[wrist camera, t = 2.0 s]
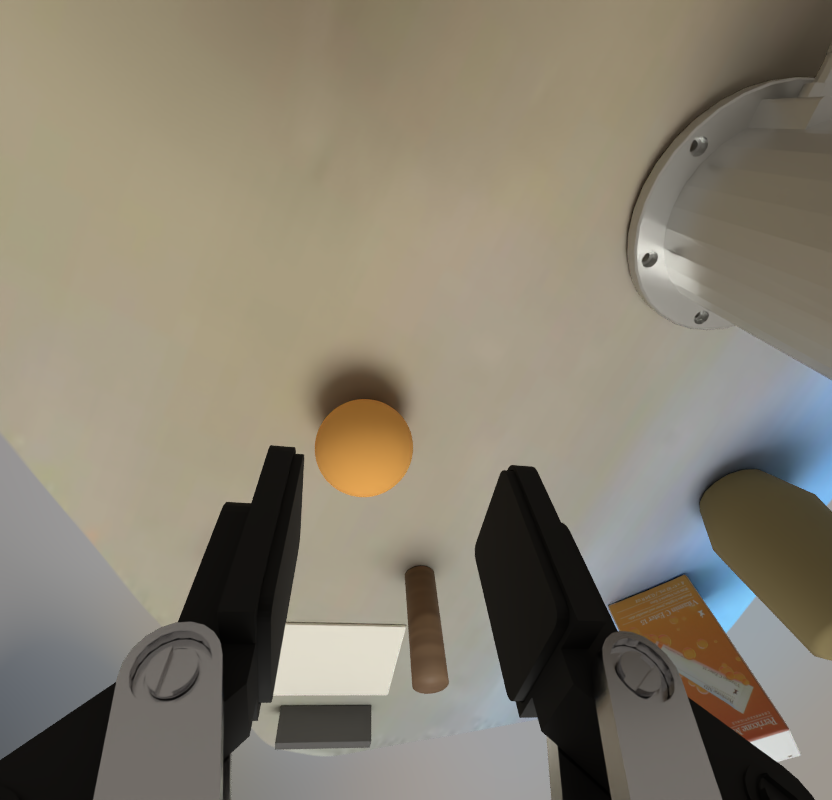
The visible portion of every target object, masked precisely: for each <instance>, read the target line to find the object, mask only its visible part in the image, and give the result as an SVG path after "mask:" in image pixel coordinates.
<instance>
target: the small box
mask: <svg viewBox="0 0 832 800" xmlns="http://www.w3.org/2000/svg"><path fill="white" fill-rule="evenodd" d="M608 608H609V610H610V612H611V614H612V617H613V619H614V621H615V623H616V625H617V627H618V629H619V631H628V632H633V633H636V634H639V635H641V636H644V637H645V638H647V639H648V640H650V641H652V642H653V643H655V644H656V645H657V646H658V647H659V648H660V649H661V650H663V651H664V652H665V653H666V654H667V655H668V657H669V658H670V660H671V661H672V662H673V664H674V665H675V666H676V668H677V670H678V672H679V675H680V677H681V679H682V682H683V685H684V688H685V690H686V693H687V696H688V697H689V698H690V699H692V700H693V701H694V702H696V703H697V704H698V705H700V706H701V707H703V708H704V709H705V710H707V711H708V712H709V713H711V714H712V715H713V716H715V717H716V718H718V719H719V720H720V721H722V722H723V723H724V724H726V725H727V726H728V727H730V728H731V729H733V730H734V731H735V732H737V733H738V734H739V735H741V736H742V737H743V738H745V739H746V740H748V741H749V742H750V743H752V744H753V745H754V746H756V747H757V748H758V749H760V750H761V751H762V752H764V753H765V754H767V755H768V756H769V757H771V758H772V759H773V760H775V761H776V762H779V761H782V760H786V759H789V758H793V757H797V756H800V755H801V753H800V751H799V749H798V747H797V745H796V743H795V741H794V739H793V737H792V734H791V732H790V730H789V728H788V727H787V724H786V723H785V722H784V720H783V718H782V717H781V715H780V714H779V712H778V711H777V709H776V708H775V706H774V705H773V703H772V702H771V700H770V699H769V697H768V696H767V694H766V693H765V691H764V690H763V688H762V687H761V685H760V684H759V682H758V681H757V679H756V678H755V676H754V675H753V673H752V672H751V670H750V669H749V667H748V666H747V664H746V663H745V661H744V660H743V658H742V657H741V655H740V654H739V652H738V651H737V650H736V648H735V647H734V645H733V644H732V642H731V640H730V639H729V637H728V636H727V634H726V633H725V631H724V630H723V628H722V627H721V625H720V624H719V622H718V621H717V619H716V618H715V616H714V615H713V613H712V612H711V611H710V609H709V608H708V606H707V605H706V603H705V602H704V600H703V599H702V597H701V596H700V595H699V593H698V592H697V590H696V589H695V587H694V586H693V584H692V583H691V581H690V580H689V578H688V577H687V576H686V575H682V576H680V577H678V578H676V579H674V580H671V581H669V582H667V583H664V584H662V585H659V586H657V587H654V588H652V589H650V590H647V591H645V592H642V593H640V594H637V595H635V596H632V597H630V598H627V599H625V600H622V601H620V602H617V603H613V604H611V605H609V606H608Z"/></svg>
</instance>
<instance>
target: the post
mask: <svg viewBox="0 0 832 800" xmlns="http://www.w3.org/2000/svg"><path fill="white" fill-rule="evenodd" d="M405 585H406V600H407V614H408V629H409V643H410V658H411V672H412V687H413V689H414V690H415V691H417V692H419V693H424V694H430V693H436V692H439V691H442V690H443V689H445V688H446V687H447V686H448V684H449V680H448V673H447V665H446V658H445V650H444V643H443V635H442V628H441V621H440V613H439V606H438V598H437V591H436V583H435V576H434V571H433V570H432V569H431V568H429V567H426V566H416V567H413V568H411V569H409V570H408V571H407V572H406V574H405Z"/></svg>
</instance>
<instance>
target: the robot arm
mask: <svg viewBox="0 0 832 800" xmlns="http://www.w3.org/2000/svg"><path fill="white" fill-rule="evenodd" d="M826 55H827V56H826V58H825V60H824V62H823V64H822V66H821V68H820V70H819V72H818V74H817V76H816V77H815V78H804V77H794V78H785V79H777V80H770V81H766V82H763V83H760V84H756V85H753V86H750V87H746V88H744V89H742V90H740V91H738V92H736V93H734V94H732V95H730V96H728V97H726V98H724V99H723V100H721V101H719V102H718V103H716V104H715V105H714V106H712V107H711V108H709V109H708V110H707V111H705V112H704V113H703V114H701V115H700V116H698V117H697V118H696V119H695V120H694V121H693V122H692V123H691V124H690V125H689V126H688V127H687V128H686V129H685V130H684V131H683V132H681V133H680V134H679V135H678V136H677V137H676V138H675V139H674V141H673V142H672V143H671V145H670V146H669V147H668V148H667V150H666V151H665V152H664V154H663V155H662V156H661V158H660V159H659V160H658V161H657V163H656V165H655V166H654V168H653V170H652V172H651V173H650V175H649V177H648V179H647V180H646V182H645V184H644V186H643V188H642V190H641V193H640V195H639V198H638V200H637V203H636V205H635V208H634V210H633V215H632V219H631V224H630V228H629V233H628V250H627V257H628V263H629V270H630V275H631V278H632V280H633V283H634V285H635V288H636V290H637V292H638V293H639V295H640V296H641V297H642V299H643V300H644V302H645V303H646V304H647V305H648V306H649V307H650V308H652V309H653V310H654V311H655V312H657V313H658V314H659V315H661V316H662V317H664V318H666V319H667V320H669V321H671V322H672V323H674V324H677V325H680V326H684V327H687V328H690V329H702V330H713V329H723V328H729V327H733V326H737V327H739V328H741V329H742V330H744V331H746V332H748V333H749V334H751V335H753V336H755V337H756V338H758V339H760V340H762V341H764V342H765V343H767V344H769V345H771V346H772V347H774V348H776V349H778V350H779V351H781V352H783V353H785V354H786V355H788V356H790V357H792V358H793V359H795V360H797V361H799V362H800V363H802V364H804V365H806V366H807V367H809V368H811V369H813V370H814V371H816V372H818V373H820V374H821V375H823V376H825V377H827V378H828V379H830V380H832V43H831V45H830V47H829V49H828V51H827V53H826ZM691 144H692V147H691ZM690 147H691V148H690ZM644 255H645V256H644ZM643 257H644V258H643ZM642 258H643V259H642ZM303 470H304V454H296V450H295V447H284V446H272V445H271V446H270V447H269V449H268V453H267V456H266V459H265V462H264V465H263V468H262V471H261V475H260V478H259V481H258V484H257V487H256V490H255V494H254V497H253V500H252V503H235V502H226V503H225V504H224V506H223V508H222V510H221V512H220V515H219V518H218V520H217V523H216V525H215V528H214V530H213V533H212V536H211V538H210V541H209V543H208V546H207V549H206V551H205V554H204V556H203V559H202V561H201V564H200V567H199V569H198V572H197V574H196V577H195V579H194V582H193V585H192V587H191V590H190V592H189V595H188V597H187V600H186V603H185V605H184V608H183V610H182V613H181V615H180V618H179V621H178V622H176V623H173V624H170V625H167V626H164V627H161V628H159V629H157V630H155V631H154V632H152V633H150V634H149V635H147V636H145V637H144V638H143V639H142V640H141V641H140V642H139V643H138V644H137V645H135V646H134V647H133V648H132V650H131V651H130V653H129V654H128V655H127V657H126V658H125V660H124V661H123V663H122V666H121V668H120V671H119V674H118V677H117V681H116V682H115V683H114V684H113V685H111V686H109V687H108V688H106V689H105V690H104V691H102V692H101V693H99V694H98V695H96V696H95V697H93V698H92V699H90V700H89V701H87V702H86V703H84V704H83V705H81V706H80V707H78V708H77V709H75V710H74V711H73V712H71V713H69V714H68V715H66V716H65V717H64V718H62V719H61V720H59V721H58V722H56V723H55V724H53V725H52V726H50V727H49V728H47V729H46V730H44V731H43V732H41V733H40V734H38V735H37V736H35V737H34V738H32V739H31V740H29V741H28V742H26V743H25V744H23V745H22V746H20V747H19V748H18V749H16V750H15V751H13V752H12V753H10V754H9V755H7V756H6V757H4V758H3V759H1V760H0V800H231V753H232V752H233V751H234V750H235V749H236V748H237V747H238V746H239V745H240V744H241V743H242V742H243V741H245V740H246V739H247V738H248V737H249V736H250V731H251V726H252V721H258V716H259V711H260V706H261V703H271V702H272V698H273V693H274V688H275V682H276V676H277V670H278V665H279V659H280V653H281V647H282V641H283V636H284V630H285V624H286V618H287V613H288V607H289V601H290V595H291V590H292V584H293V578H294V572H295V567H296V561H297V555H298V549H299V542H300V528H301V509H302V489H303ZM475 559H476V563H477V568H478V572H479V576H480V580H481V585H482V589H483V593H484V598H485V602H486V606H487V611H488V615H489V619H490V623H491V628H492V632H493V636H494V641H495V645H496V649H497V654H498V658H499V662H500V666H501V671H502V675H503V679H504V684H505V688H506V692H507V695H508V697H509V699H510V700H511V701H516V705H517V709H518V713H519V717H520V718H521V717H538V720H539V724H540V728H541V731H542V732H543V733H544V734H545V735H546V736H547V748H548V761H549V774H550V788H551V800H815V799H814V798H813V796H812V795H811V794H810V793H809V791H808V790H807V789H806V788H805V787H804V786H803V785H802V783H801V782H800V781H799V780H798V779H797V778H796V777H795V776H793V775H792V774H791V773H790V772H789V771H787V770H786V769H785V768H784V767H783V766H782V765H780V764H779V763H777V762H776V761H775V760H773V759H772V758H771V757H769V756H768V755H767V754H765V753H764V752H762V751H761V750H760V749H758V748H757V747H756V746H754V745H753V744H752V743H750V742H749V741H748V740H746V739H745V738H743V737H742V736H741V735H739V734H738V733H737V732H735V731H734V730H733V729H731V728H730V727H728V726H727V725H726V724H724V723H723V722H722V721H720V720H719V719H718V718H716V717H715V716H713V715H712V714H711V713H709V712H708V711H707V710H705V709H704V708H703V707H701V706H700V705H698V704H697V703H696V702H694V701H693V700H692V699H690V698H689V697H688V696H687V693H686V690H685V688H684V685H683V682H682V679H681V677H680V675H679V672H678V670H677V668H676V666H675V665H674V664H673V662H672V661H671V660H670V658H669V657H668V655H667V654H666V653H665V652H664V651H663V650H661V649H660V648H659V647H658V646H657V645H656V644H655V643H653V642H652V641H650V640H648V639H647V638H645V637H644V636H641V635H639V634H636V633H633V632H628V631H617V629H616V627H615V625H614V623H613V621H612V619H611V616H610V614H609V612H608V610H607V608H606V606H605V604H604V602H603V600H602V598H601V595H600V593H599V591H598V589H597V587H596V585H595V583H594V581H593V579H592V577H591V575H590V572H589V570H588V568H587V566H586V564H585V562H584V560H583V558H582V556H581V554H580V551H579V549H578V547H577V545H576V543H575V541H574V539H573V537H572V535H571V533H570V531H569V529H568V528H567V526H566V525H565V524H563V523H561V521H560V519H559V517H558V515H557V513H556V511H555V508H554V506H553V504H552V502H551V500H550V498H549V496H548V493H547V491H546V489H545V487H544V485H543V483H542V481H541V478H540V476H539V474H538V472H537V470H536V469H535V468H534V467H529V466H517V465H511V466H510V467H509V468H508V470H507V471H505V470H504V471H502V472H501V473H500V476H499V479H498V482H497V485H496V487H495V490H494V493H493V496H492V499H491V502H490V505H489V507H488V510H487V513H486V516H485V519H484V522H483V525H482V527H481V530H480V533H479V536H478V539H477V542H476V545H475Z"/></svg>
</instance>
